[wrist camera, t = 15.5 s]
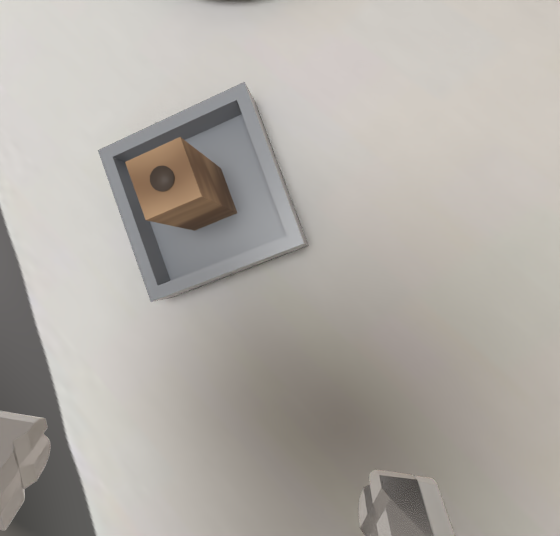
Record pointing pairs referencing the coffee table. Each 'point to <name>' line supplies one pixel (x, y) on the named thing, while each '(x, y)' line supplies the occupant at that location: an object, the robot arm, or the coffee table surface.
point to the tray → (241, 183)
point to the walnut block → (180, 186)
